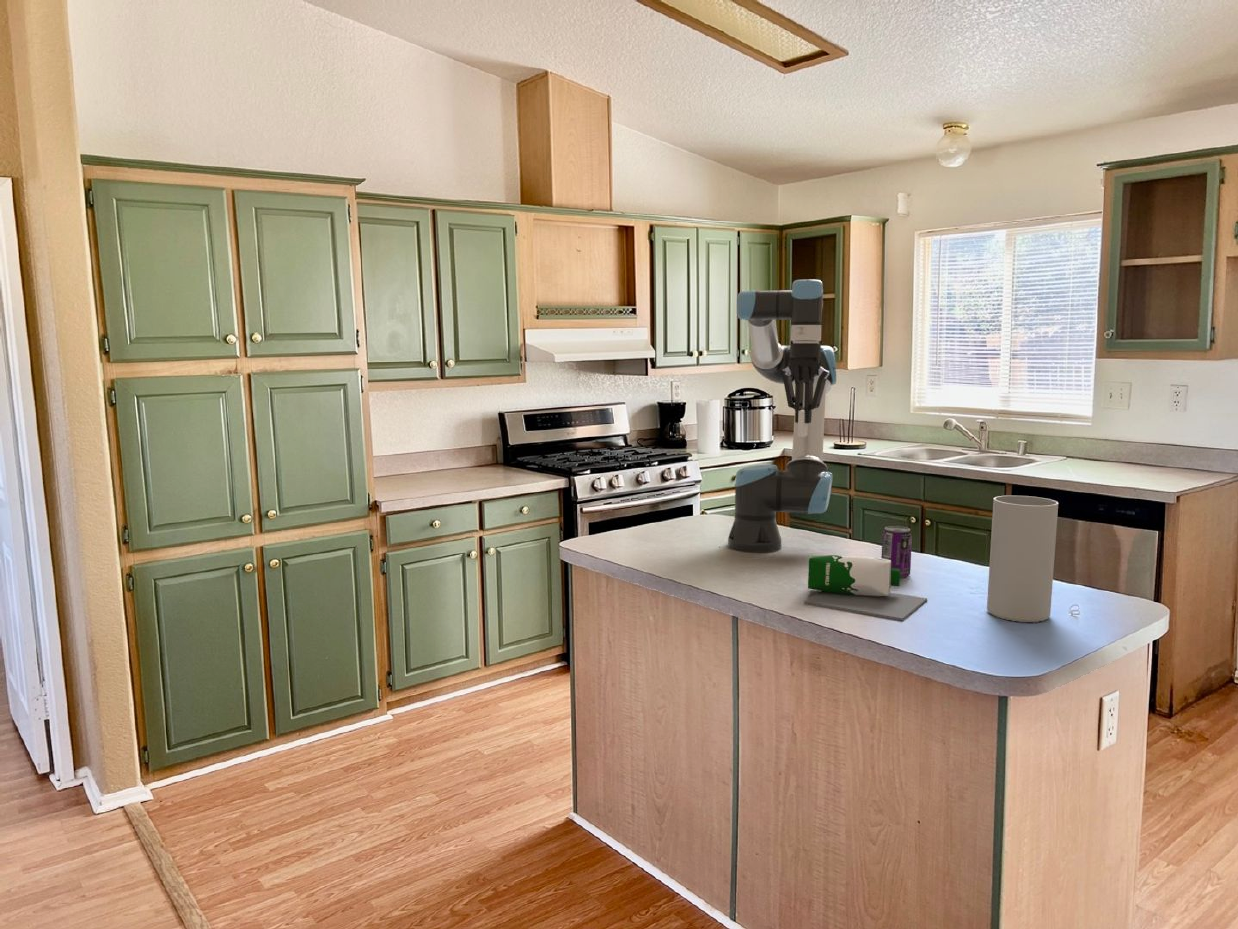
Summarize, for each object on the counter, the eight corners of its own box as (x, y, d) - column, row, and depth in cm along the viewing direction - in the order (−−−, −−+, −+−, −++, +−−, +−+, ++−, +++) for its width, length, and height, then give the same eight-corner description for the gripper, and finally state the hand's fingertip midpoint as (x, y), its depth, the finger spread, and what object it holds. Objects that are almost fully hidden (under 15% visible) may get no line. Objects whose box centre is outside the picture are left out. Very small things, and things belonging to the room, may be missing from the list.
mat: (804, 603, 200) (804, 600, 200) (834, 585, 215) (834, 583, 215) (902, 621, 188) (902, 618, 188) (927, 601, 203) (927, 598, 203)
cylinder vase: (976, 606, 198) (983, 495, 195) (1030, 605, 199) (1038, 495, 196) (1004, 624, 186) (1012, 506, 183) (1062, 623, 187) (1070, 505, 184)
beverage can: (911, 580, 220) (914, 532, 219) (881, 578, 222) (884, 531, 220) (908, 572, 227) (910, 526, 226) (879, 571, 229) (881, 525, 227)
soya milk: (811, 589, 213) (899, 595, 207) (806, 592, 204) (898, 600, 198) (812, 552, 213) (900, 557, 207) (808, 554, 205) (899, 560, 198)
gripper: (775, 342, 225) (772, 435, 228) (824, 342, 217) (821, 439, 220) (787, 342, 231) (785, 433, 234) (836, 342, 223) (832, 436, 227)
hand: (802, 435), depth 227 cm, fingers closed
